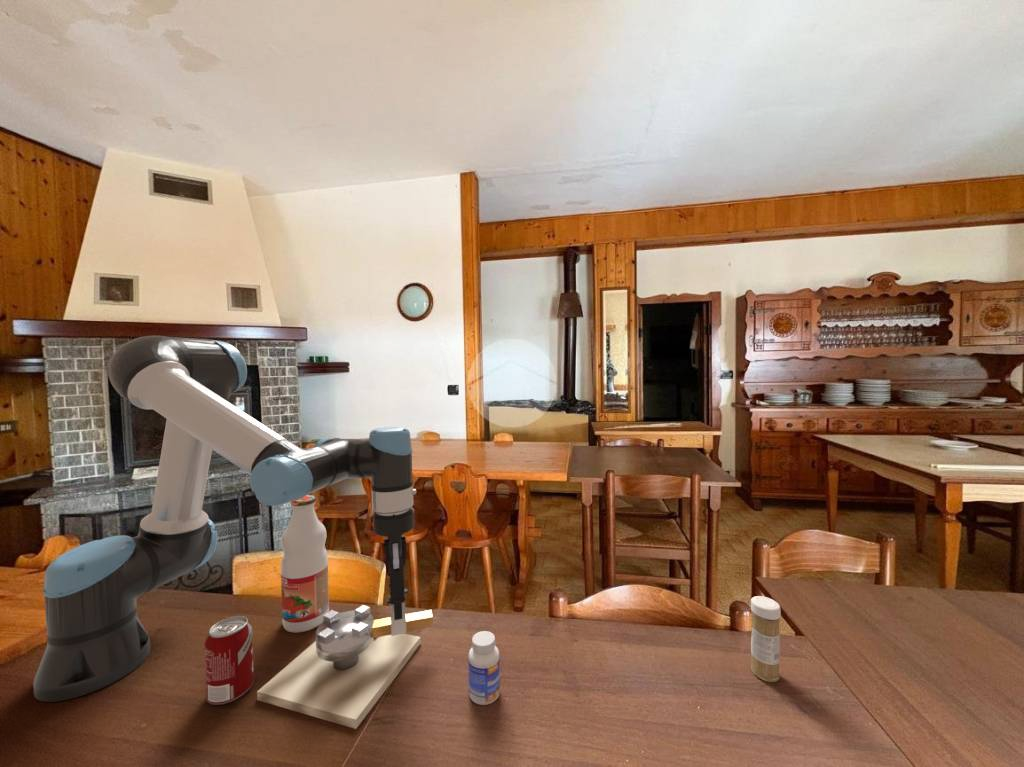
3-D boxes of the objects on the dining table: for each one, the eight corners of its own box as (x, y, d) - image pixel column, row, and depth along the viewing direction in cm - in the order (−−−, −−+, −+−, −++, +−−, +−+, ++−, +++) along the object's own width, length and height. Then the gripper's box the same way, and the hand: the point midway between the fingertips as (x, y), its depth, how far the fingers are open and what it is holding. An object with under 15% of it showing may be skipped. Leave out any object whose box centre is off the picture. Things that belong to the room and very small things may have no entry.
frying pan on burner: (311, 666, 68) (310, 643, 68) (321, 630, 77) (320, 609, 77) (434, 641, 74) (434, 619, 74) (429, 610, 83) (429, 591, 83)
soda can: (229, 711, 65) (227, 640, 65) (196, 705, 66) (193, 635, 66) (263, 680, 72) (261, 615, 71) (232, 675, 73) (230, 611, 73)
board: (257, 700, 67) (256, 671, 67) (339, 627, 87) (338, 604, 86) (356, 729, 62) (355, 697, 62) (420, 644, 81) (420, 620, 81)
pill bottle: (492, 710, 65) (491, 652, 65) (463, 701, 67) (462, 644, 66) (504, 685, 70) (504, 632, 70) (477, 677, 72) (476, 625, 72)
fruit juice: (336, 617, 90) (334, 496, 89) (293, 640, 82) (289, 508, 82) (317, 603, 96) (314, 489, 95) (275, 622, 88) (271, 499, 88)
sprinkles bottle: (762, 662, 75) (762, 592, 75) (786, 679, 71) (786, 606, 70) (744, 668, 73) (745, 597, 73) (767, 687, 69) (768, 611, 69)
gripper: (416, 517, 70) (421, 649, 70) (411, 497, 82) (416, 609, 82) (371, 523, 67) (377, 659, 68) (373, 502, 80) (378, 617, 80)
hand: (398, 632), depth 75 cm, fingers closed
